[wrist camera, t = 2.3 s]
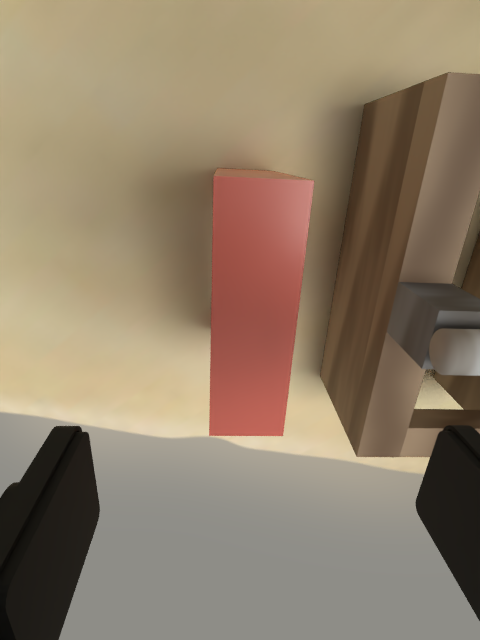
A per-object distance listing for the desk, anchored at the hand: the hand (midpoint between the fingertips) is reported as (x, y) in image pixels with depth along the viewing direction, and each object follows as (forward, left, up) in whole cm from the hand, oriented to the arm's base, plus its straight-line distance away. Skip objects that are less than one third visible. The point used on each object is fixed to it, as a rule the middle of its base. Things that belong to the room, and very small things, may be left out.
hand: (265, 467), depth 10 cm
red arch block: (0, 0, -21) cm, 21 cm away
